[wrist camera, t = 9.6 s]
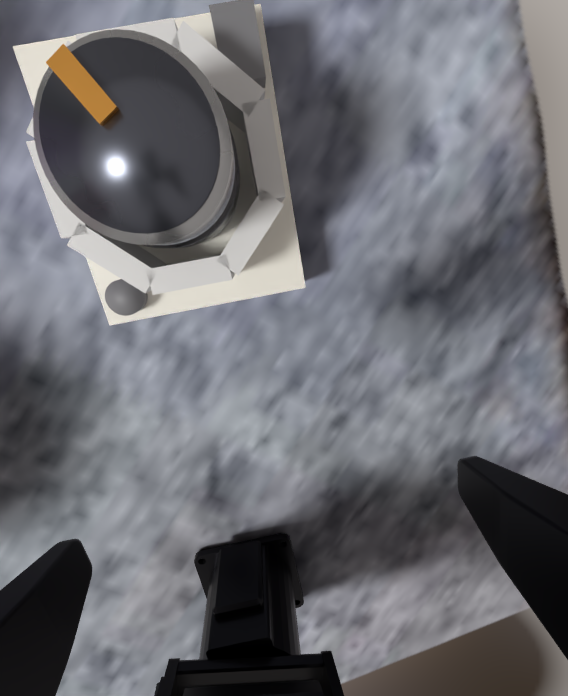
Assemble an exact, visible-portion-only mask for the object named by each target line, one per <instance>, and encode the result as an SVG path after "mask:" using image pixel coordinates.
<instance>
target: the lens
mask: <svg viewBox="0 0 568 696" xmlns="http://www.w3.org/2000/svg"><path fill="white" fill-rule="evenodd" d="M46 63H47V65H48V66H49V67H48V69H47V71H46V72H45V74H44V76H43V78H42V80H41V83H40V86H39V88H38V91H37V95H36V99H35V104H34V114H33V132H34V139H35V145H36V150H37V154H38V157H39V161H40V163H41V166H42V168H43V171H44V173H45V176H46V177H47V179H48V181H49V183H50V185H51V187H52V188H53V190H54V191H55V193H56V194H57V195H58V197H59V198H60V200H61V201H62V202H63V203H64V204H65V206H66V207H67V208H68V209H69V210H70V211H71V212H72V213H73V214H74V215H75V216H76V217H77V218H79V219H80V220H81V221H82V222H84V223H85V224H86V225H88V226H89V227H91V228H92V229H94V230H96V231H97V232H99V233H101V234H103V235H105V236H108V237H110V238H112V239H115V240H118V241H122V242H125V243H131V244H137V245H143V246H147V247H154V248H184V247H190V246H194V245H197V244H200V243H203V242H206V241H208V240H210V239H212V238H213V237H215V236H216V235H218V234H219V233H220V232H221V231H222V230H223V229H224V228H225V227H226V226H227V225H228V223H229V222H230V220H231V218H232V217H233V215H234V212H235V210H236V207H237V203H238V199H239V189H240V170H239V162H238V156H237V150H236V146H235V142H234V138H233V135H232V132H231V130H230V127H229V125H228V122H227V118H226V114H225V112H224V109H223V106H222V104H221V101H220V99H219V98H218V96H217V94H216V92H215V90H214V88H213V87H212V85H211V84H210V82H209V81H208V79H207V77H206V76H205V75H204V74H203V73H202V71H201V70H200V69H199V68H198V67H197V65H196V64H194V63H193V62H192V61H191V60H190V59H189V58H188V57H187V56H186V55H185V54H183V53H182V52H181V51H179V50H178V49H177V48H175V47H174V46H172V45H170V44H169V43H167V42H165V41H163V40H161V39H159V38H157V37H154V36H151V35H149V34H146V33H142V32H137V31H133V30H122V29H115V30H104V31H100V32H96V33H92V34H89V35H87V36H84V37H82V38H80V39H78V40H76V41H75V42H73V43H72V44H70V45H69V46H67V47H66V46H65V45H64V44H62V45H61V46H60V48H59V49H58V50H57V51H56V52H55V53H54V54H53V55H52V56H51V57H50V58H49V59H48V60H47V61H46Z"/></svg>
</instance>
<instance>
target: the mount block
mask: <svg viewBox="0 0 568 696" xmlns="http://www.w3.org/2000/svg"><path fill="white" fill-rule="evenodd" d="M209 8H210V13H204V14H199V15H193V16H187V17H181V18H175V19H174V18H169V19H163V20H157V21H151V22H146V23H140V24H134V25H128V26H122V27H116V28H111V29H105V30H115V29H122V30H133V31H137V32H142V33H146V34H149V35H151V36H154V37H157V38H159V39H161V40H163V41H165V42H167V43H169V44H170V45H172V46H174V47H175V48H177V49H178V50H179V51H181V52H182V53H183V54H185V55H186V56H187V57H188V58H189V59H190V60H191V61H192V62H193V63H194V64H196V65H197V67H198V68H199V69H200V70H201V71H202V73H203V74H204V75H205V76H206V77H207V79H208V81H209V82H210V84H211V85H212V87H213V88H214V90H215V92H216V94H217V96H218V98H219V99H220V101H221V104H222V106H223V109H224V112H225V114H226V118H227V122H228V125H229V127H230V130H231V132H232V135H233V138H234V142H235V146H236V150H237V156H238V162H239V170H240V189H239V199H238V203H237V207H236V210H235V212H234V215H233V217H232V218H231V220H230V222H229V223H228V225H227V226H226V227H225V228H224V229H223V230H222V231H221V232H220V233H219V234H218V235H216V236H215V237H213V238H212V239H210V240H208V241H206V242H203V243H200V244H197V245H194V246H190V247H184V248H154V247H147V246H143V245H137V244H131V243H125V242H122V241H118V240H115V239H112V238H110V237H108V236H105V235H103V234H101V233H99V232H97V231H96V230H94V229H92V228H91V227H89V226H88V225H86V224H85V223H84V222H82V221H81V220H80V219H79V218H77V217H76V216H75V215H74V214H73V213H72V212H71V211H70V210H69V209H68V208H67V207H66V206H65V204H64V203H63V202H62V201H61V200H60V198H59V197H58V195H57V194H56V193H55V191H54V190H53V188H52V187H51V185H50V183H49V181H48V179H47V177H46V176H45V173H44V171H43V168H42V166H41V163H40V161H39V157H38V154H37V150H36V145H35V140H33V141H28V142H26V143H27V146H28V148H29V151H30V154H31V157H32V159H33V162H34V165H35V168H36V170H37V173H38V176H39V179H40V181H41V184H42V187H43V190H44V192H45V195H46V198H47V201H48V203H49V206H50V209H51V212H52V214H53V217H54V220H55V223H56V225H57V228H58V231H59V234H60V236H61V238H71V239H70V240H69V242H68V244H67V246H69V247H71V248H72V249H74V250H75V251H77V252H79V253H80V254H82V255H83V256H85V257H86V259H87V262H88V265H89V267H90V270H91V273H92V276H93V279H94V282H95V285H96V288H97V290H98V293H99V296H100V299H101V302H102V305H103V308H104V311H105V313H106V316H107V319H108V322H109V325H115V324H120V323H125V322H130V321H135V320H140V319H146V318H151V317H156V316H161V315H166V314H172V313H177V312H182V311H187V310H192V309H198V308H203V307H208V306H213V305H218V304H224V303H229V302H234V301H239V300H244V299H250V298H255V297H260V296H265V295H270V294H275V293H281V292H286V291H291V290H296V289H301V288H306V287H305V281H304V275H303V268H302V262H301V256H300V250H299V243H298V237H297V231H296V224H295V218H294V212H293V205H292V199H291V193H290V187H289V180H288V174H287V168H286V161H285V155H284V149H283V142H282V136H281V130H280V123H279V117H278V111H277V105H276V98H275V92H274V86H273V79H272V73H271V67H270V60H269V54H268V48H267V42H266V35H265V29H264V23H263V16H262V10H261V4H257V5H254V0H236V1H231V2H225V3H219V4H213V5H209ZM100 31H104V30H99V31H93V32H87V33H81V34H75V36H70V37H64V38H58V39H53V40H47V41H41V42H35V43H29V44H23V45H17V46H13V49H14V52H15V55H16V58H17V60H18V63H19V66H20V69H21V72H22V75H23V78H24V81H25V83H26V86H27V89H28V92H29V95H30V98H31V101H32V104H33V106H34V104H35V99H36V95H37V91H38V88H39V86H40V83H41V80H42V78H43V76H44V74H45V72H46V71H47V69H48V67H49V66H48V65H47V63H46V61H47V60H48V59H49V58H50V57H51V56H52V55H53V54H54V53H55V52H56V51H57V50H58V49H59V48H60V46H61V45H62V44H64V45H65V46H66V47H67V46H69V45H70V44H72V43H73V42H75V41H76V40H78V39H80V38H82V37H84V36H87V35H89V34H92V33H96V32H100ZM26 132H27V133H28V134H30V135H31V136H33V137H34V132H33V118H32V120H31V123H30V125H29V127H28V129H27V131H26Z"/></svg>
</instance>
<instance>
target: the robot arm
mask: <svg viewBox="0 0 568 696" xmlns="http://www.w3.org/2000/svg"><path fill="white" fill-rule="evenodd" d="M457 467H458V490H459V493H460V496H461V498H462V500H463V502H464V503H465V505H466V507H467V509H468V510H469V512H470V514H471V515H472V517H473V519H474V521H475V522H476V524H477V526H478V528H479V529H480V531H481V533H482V535H483V536H484V538H485V540H486V541H487V543H488V545H489V547H490V548H491V550H492V552H493V553H494V555H495V557H496V558H497V560H498V562H499V563H500V565H501V566H502V568H503V569H504V570H505V572H506V573H507V575H508V576H509V578H510V579H511V580H512V582H513V583H514V585H515V586H516V588H517V589H518V590H519V592H520V593H521V595H522V596H523V597H524V599H525V600H526V602H527V603H528V604H529V606H530V607H531V609H532V610H533V612H534V613H535V614H536V616H537V617H538V618H539V620H540V621H541V623H542V624H543V625H544V627H545V628H546V630H547V631H548V632H549V634H550V635H551V637H552V638H553V639H554V641H555V643H556V644H557V645H558V647H559V648H560V650H561V651H562V652H563V654H564V655H565V657H566V658H567V659H568V495H567V494H565V493H563V492H560V491H558V490H555V489H553V488H551V487H548V486H546V485H544V484H541V483H539V482H537V481H534V480H532V479H529V478H527V477H525V476H522V475H520V474H518V473H515V472H513V471H511V470H508V469H506V468H504V467H501V466H499V465H496V464H494V463H492V462H489V461H487V460H485V459H482V458H480V457H477V456H472V457H467V458H463V459H460V460H459V461H458V465H457ZM282 541H285V542H282ZM194 563H195V566H196V569H197V572H198V575H199V578H200V580H201V583H202V586H203V589H204V592H205V595H206V598H207V604H206V611H205V619H204V627H203V634H202V642H201V650H200V657H199V660H180V658H175V659H169V661H168V665H167V669H166V672H165V676H164V677H161V680H160V682H159V683H158V684H157V686H156V691H155V695H154V696H344V694H343V690H342V687H341V683H340V680H339V677H338V673H337V670H336V666H335V663H334V659H333V656H332V652H331V651H321V654H302V655H301V653H300V644H299V635H298V626H297V617H296V608H298V607H301V606H302V605H303V603H304V600H303V594H302V589H301V585H300V580H299V576H298V571H297V567H296V563H295V558H294V554H293V549H292V545H291V540H290V537H289V536H288V535H287V534H278V535H273V536H268V537H264V538H259V539H254V540H249V541H245V542H240V543H235V544H230V545H226V546H221V547H216V548H211V549H207V550H202V551H199V552H197V553H196V555H195V560H194ZM91 576H92V565H91V562H90V560H89V558H88V556H87V553H86V551H85V549H84V547H83V545H82V543H81V541H80V540H78V539H71V540H66V541H62V542H59V543H57V544H56V545H54V546H53V547H52V548H51V549H50V550H48V551H47V552H46V553H45V554H44V555H42V556H41V557H40V558H39V559H38V560H36V561H35V562H34V563H33V564H32V565H30V566H29V567H28V568H27V569H26V570H24V571H23V572H22V573H21V574H20V575H18V576H17V577H16V578H15V579H14V580H12V581H11V582H10V583H9V584H8V585H6V586H5V587H4V588H3V589H2V590H0V696H55V695H56V693H57V690H58V687H59V684H60V681H61V679H62V676H63V673H64V670H65V668H66V665H67V662H68V659H69V656H70V653H71V649H72V646H73V643H74V639H75V636H76V632H77V628H78V624H79V621H80V617H81V613H82V610H83V606H84V602H85V599H86V595H87V591H88V588H89V584H90V580H91Z"/></svg>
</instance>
